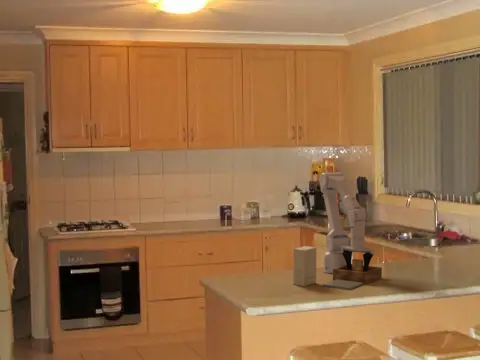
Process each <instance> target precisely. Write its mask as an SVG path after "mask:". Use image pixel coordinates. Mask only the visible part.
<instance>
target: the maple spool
mask: <svg viewBox="0 0 480 360" xmlns="http://www.w3.org/2000/svg"><path fill="white" fill-rule="evenodd" d="M351 264H352V271H356V272H363V265H364V259H360V258H354V259H351Z"/></svg>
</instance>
